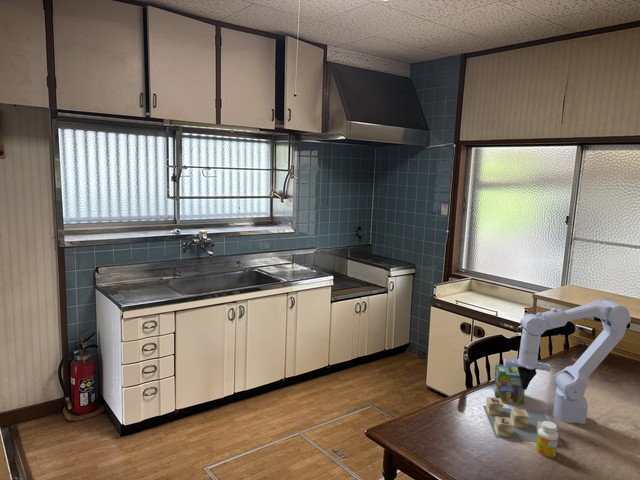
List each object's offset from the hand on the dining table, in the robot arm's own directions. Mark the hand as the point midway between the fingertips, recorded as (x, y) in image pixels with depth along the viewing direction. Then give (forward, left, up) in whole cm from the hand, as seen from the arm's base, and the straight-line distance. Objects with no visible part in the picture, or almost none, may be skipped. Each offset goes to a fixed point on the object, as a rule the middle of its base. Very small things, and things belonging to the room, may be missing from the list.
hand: (523, 388), depth 157 cm
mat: (+2, +7, -10) cm, 13 cm away
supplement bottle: (-1, +21, -11) cm, 24 cm away
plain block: (+2, +7, -9) cm, 12 cm away
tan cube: (-4, +13, -9) cm, 17 cm away
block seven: (+9, +13, -9) cm, 19 cm away
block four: (+9, 0, -9) cm, 13 cm away
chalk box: (+1, -12, -11) cm, 16 cm away
